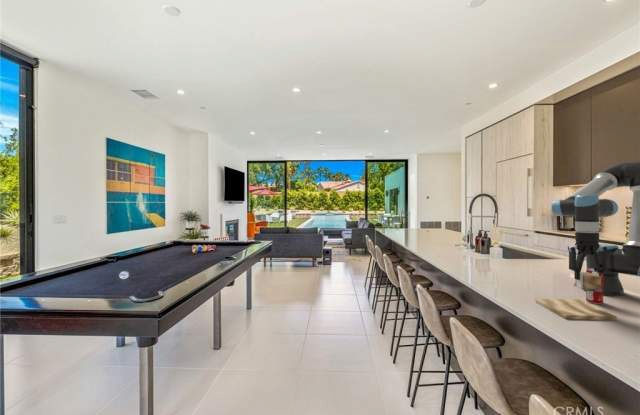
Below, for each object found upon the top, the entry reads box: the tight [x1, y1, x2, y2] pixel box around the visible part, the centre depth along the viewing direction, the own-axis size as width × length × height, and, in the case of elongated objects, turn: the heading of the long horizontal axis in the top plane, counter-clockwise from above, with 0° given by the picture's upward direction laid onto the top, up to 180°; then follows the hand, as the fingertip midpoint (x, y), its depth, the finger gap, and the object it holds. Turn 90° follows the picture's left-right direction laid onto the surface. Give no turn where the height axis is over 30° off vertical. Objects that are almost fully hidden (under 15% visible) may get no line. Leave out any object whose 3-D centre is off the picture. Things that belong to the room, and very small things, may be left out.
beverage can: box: [585, 268, 604, 305], centre depth 135 cm, size 6×6×15 cm
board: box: [534, 298, 618, 321], centre depth 126 cm, size 18×20×2 cm
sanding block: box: [573, 271, 602, 292], centre depth 125 cm, size 5×8×6 cm, turn 172°
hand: (587, 287), depth 125 cm, fingers closed on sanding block, 5 cm apart
